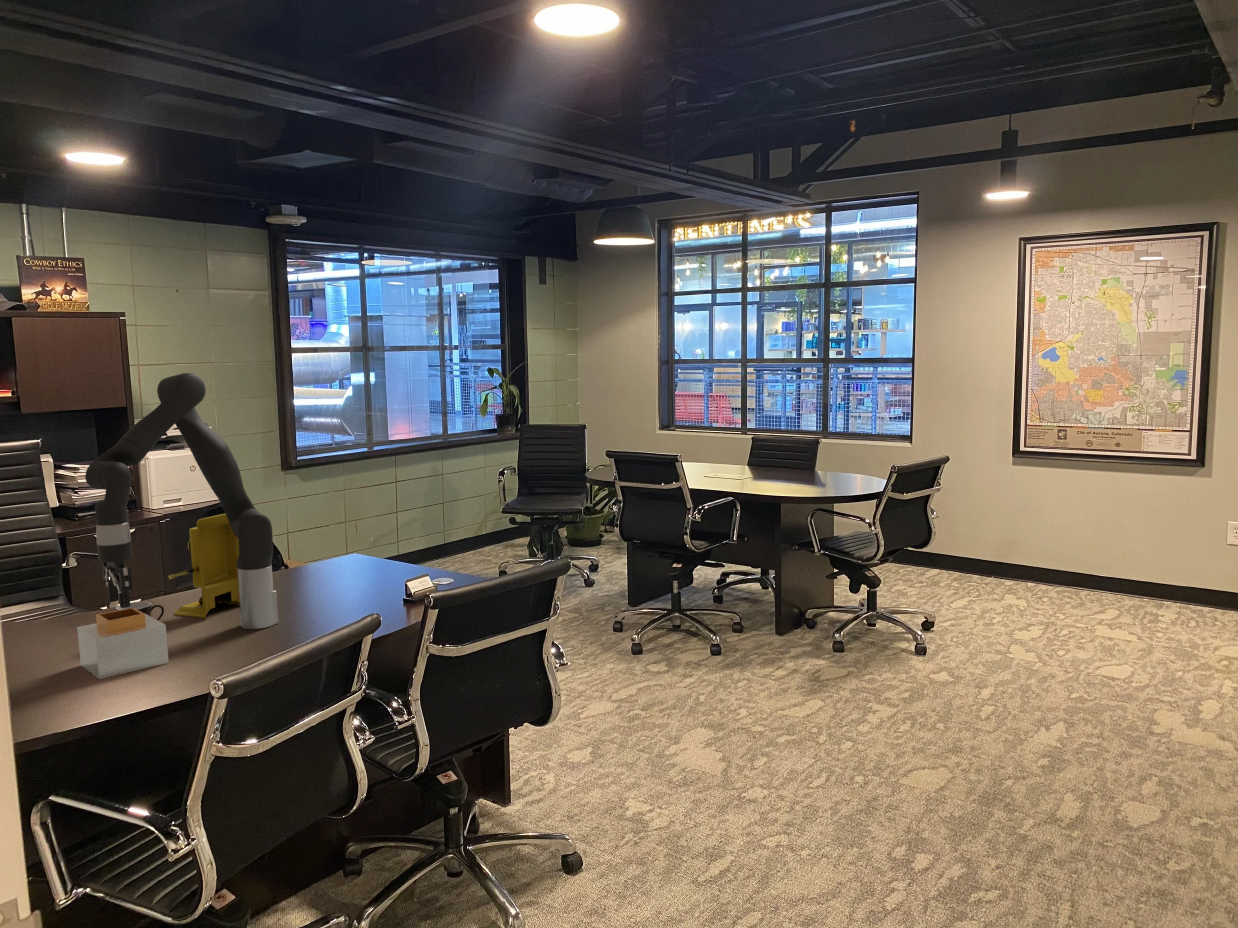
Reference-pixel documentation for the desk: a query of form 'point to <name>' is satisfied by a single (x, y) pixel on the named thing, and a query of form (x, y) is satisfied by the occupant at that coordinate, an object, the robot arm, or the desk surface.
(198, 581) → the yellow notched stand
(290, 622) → the desk surface
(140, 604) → the coffee mug
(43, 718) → the desk surface
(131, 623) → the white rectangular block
